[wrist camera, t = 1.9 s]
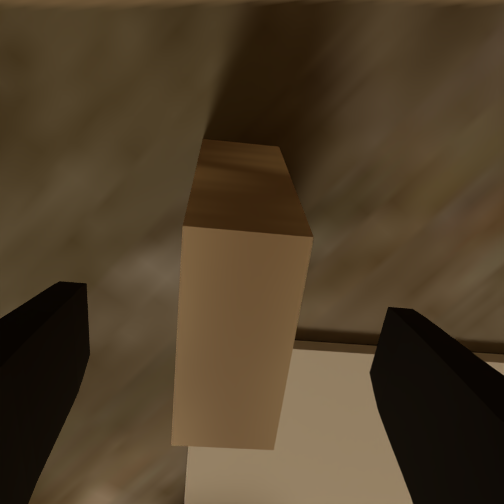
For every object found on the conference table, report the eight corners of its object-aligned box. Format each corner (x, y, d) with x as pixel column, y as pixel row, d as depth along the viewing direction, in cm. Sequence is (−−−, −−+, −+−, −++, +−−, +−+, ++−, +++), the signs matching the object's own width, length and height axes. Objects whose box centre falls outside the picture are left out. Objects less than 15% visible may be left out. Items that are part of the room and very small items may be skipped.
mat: (183, 520, 25) (181, 531, 24) (197, 333, 19) (196, 342, 19) (439, 529, 26) (443, 540, 25) (517, 355, 21) (525, 364, 20)
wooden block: (192, 290, 18) (171, 445, 12) (202, 138, 16) (182, 225, 9) (260, 295, 19) (277, 450, 12) (281, 146, 16) (318, 237, 9)
